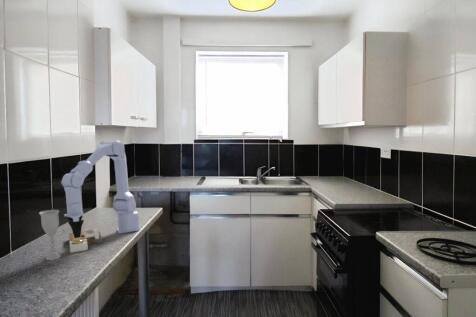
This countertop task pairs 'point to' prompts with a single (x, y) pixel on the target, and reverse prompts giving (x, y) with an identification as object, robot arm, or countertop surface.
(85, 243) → the white block with hole
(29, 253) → the countertop surface
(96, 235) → the bar
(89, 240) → the socket block
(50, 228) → the chalice
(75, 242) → the peg
